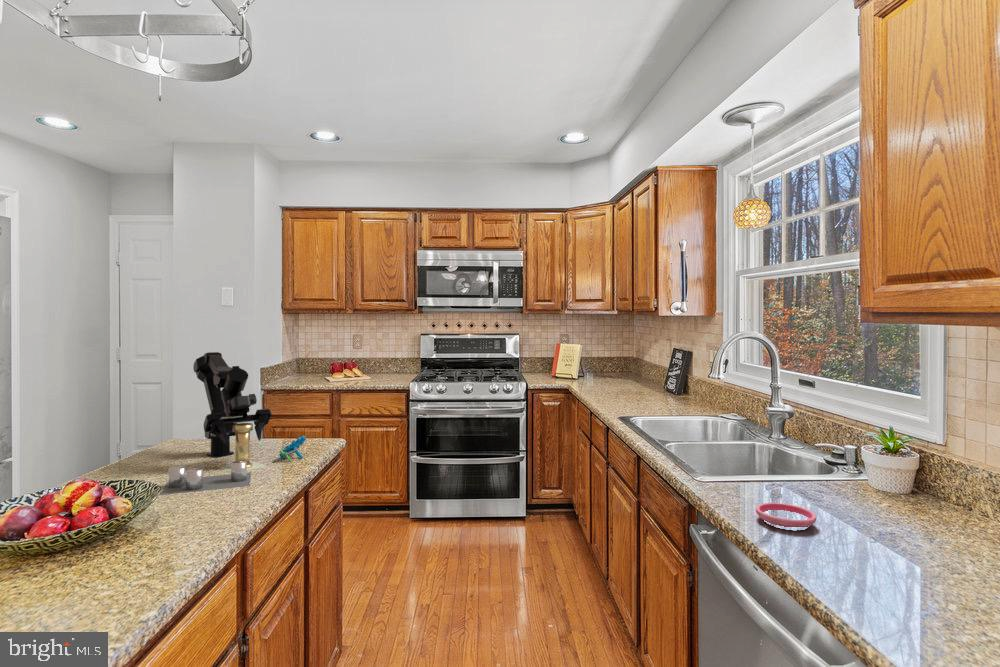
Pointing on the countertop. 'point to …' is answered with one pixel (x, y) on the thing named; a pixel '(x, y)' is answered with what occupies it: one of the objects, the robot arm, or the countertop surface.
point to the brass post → (243, 442)
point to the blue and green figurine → (292, 448)
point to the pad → (255, 465)
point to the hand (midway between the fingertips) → (244, 441)
